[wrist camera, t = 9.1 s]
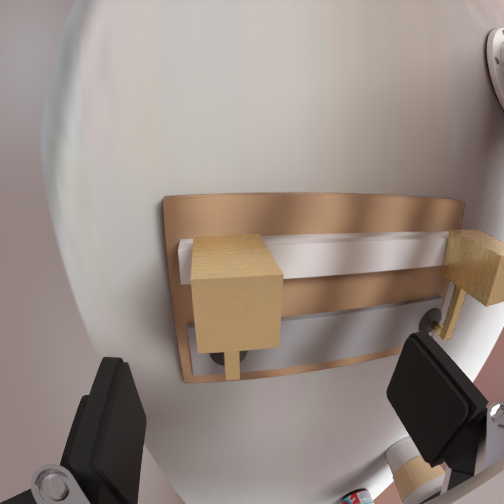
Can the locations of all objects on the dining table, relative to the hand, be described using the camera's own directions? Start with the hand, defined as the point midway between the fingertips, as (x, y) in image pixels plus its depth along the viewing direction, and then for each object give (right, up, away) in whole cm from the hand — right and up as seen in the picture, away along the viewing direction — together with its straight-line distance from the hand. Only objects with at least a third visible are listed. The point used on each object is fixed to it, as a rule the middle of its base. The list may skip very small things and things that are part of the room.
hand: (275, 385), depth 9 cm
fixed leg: (+17, +2, +15) cm, 23 cm away
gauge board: (+6, +1, +16) cm, 17 cm away
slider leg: (-2, +1, +12) cm, 12 cm away
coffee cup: (+24, -29, +30) cm, 49 cm away
